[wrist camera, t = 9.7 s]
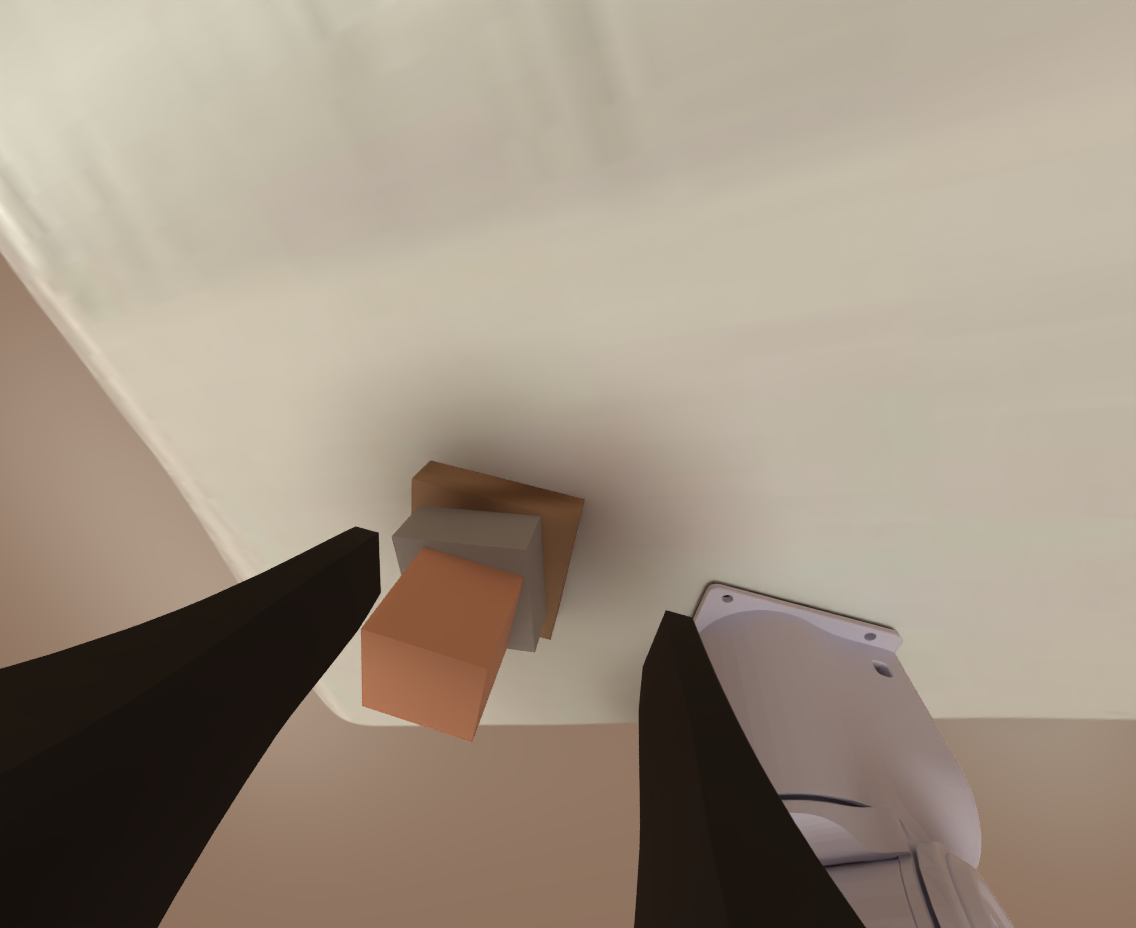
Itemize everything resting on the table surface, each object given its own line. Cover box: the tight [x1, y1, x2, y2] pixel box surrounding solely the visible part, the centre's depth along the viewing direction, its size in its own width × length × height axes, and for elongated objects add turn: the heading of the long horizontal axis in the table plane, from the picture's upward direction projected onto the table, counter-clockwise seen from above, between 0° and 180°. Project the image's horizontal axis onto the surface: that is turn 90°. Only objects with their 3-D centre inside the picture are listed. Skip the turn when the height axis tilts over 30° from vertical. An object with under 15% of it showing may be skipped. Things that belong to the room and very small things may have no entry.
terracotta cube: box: [361, 547, 524, 742], centre depth 18 cm, size 4×4×4 cm
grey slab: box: [392, 506, 547, 652], centre depth 21 cm, size 6×6×2 cm
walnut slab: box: [412, 461, 584, 640], centre depth 23 cm, size 8×8×2 cm
